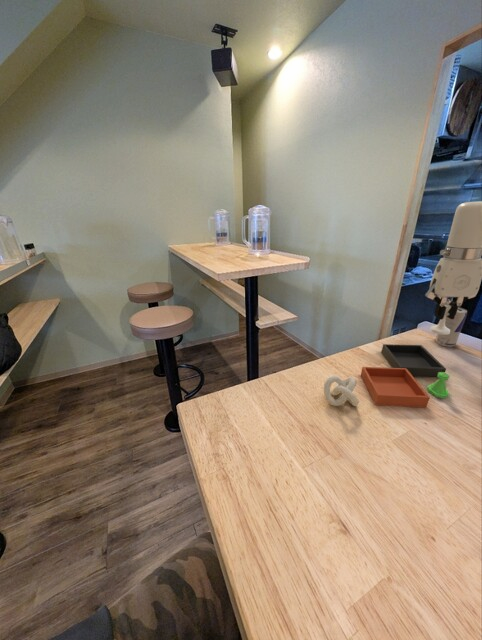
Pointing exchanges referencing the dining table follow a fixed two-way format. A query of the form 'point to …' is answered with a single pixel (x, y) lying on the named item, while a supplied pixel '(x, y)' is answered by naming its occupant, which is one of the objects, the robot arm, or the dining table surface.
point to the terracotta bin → (394, 387)
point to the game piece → (439, 386)
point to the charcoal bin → (412, 360)
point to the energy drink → (452, 329)
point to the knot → (340, 390)
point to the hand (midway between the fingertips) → (443, 317)
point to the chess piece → (442, 322)
